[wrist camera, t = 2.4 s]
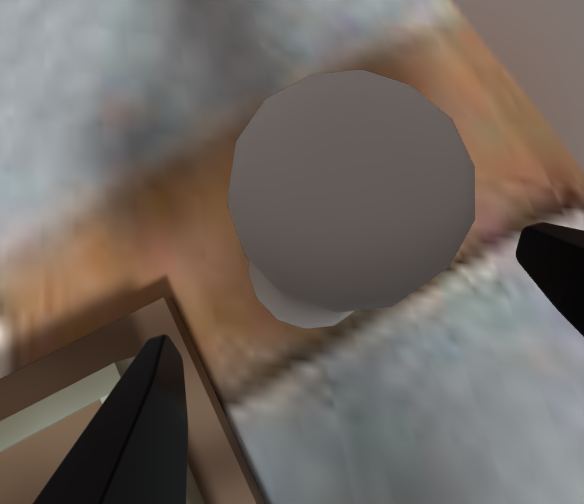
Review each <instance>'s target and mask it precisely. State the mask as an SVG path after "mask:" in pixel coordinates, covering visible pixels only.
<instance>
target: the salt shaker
mask: <svg viewBox="0 0 584 504" xmlns="http://www.w3.org/2000/svg"><path fill="white" fill-rule="evenodd" d="M228 208H229V211H230V214H231V217H232V220H233V223H234V225H235V228H236V231H237V234H238V237H239V240H240V242H241V245H242V248H243V251H244V254H245V256H246V257H247V258H248V259H249V267H248V274H249V277H250V280H251V283H252V286H253V288H254V291H255V294H256V297H257V299H258V300H259V301H260V302H261V303H262V304H263V305H264V306H265V307H266V308H267V310H268V311H269V312H270V313H271V314H272V315H273V316H274V317H275V318H276V319H277V320H280V321H283V322H286V323H289V324H292V325H295V326H298V327H301V328H304V329H308V328H317V327H326V326H334V325H336V324H337V323H338V322H340V321H341V320H343V319H344V318H346V317H347V316H349V315H350V314H351V313H353V312H354V311H357V310H366V309H375V308H384V307H392V306H394V305H395V304H397V303H398V302H399V301H401V300H402V299H404V298H405V297H407V296H408V295H410V294H411V293H412V292H414V291H415V290H417V289H418V288H420V287H421V286H423V285H424V284H425V283H427V282H428V281H430V280H431V279H433V278H434V277H435V276H437V275H438V274H440V273H441V272H442V271H444V270H445V269H447V268H448V267H449V266H450V264H451V262H452V261H453V259H454V257H455V255H456V253H457V251H458V250H459V248H460V246H461V244H462V242H463V241H464V239H465V237H466V235H467V233H468V231H469V230H470V228H471V226H472V224H473V222H474V220H475V166H474V164H473V162H472V160H471V158H470V156H469V154H468V151H467V149H466V147H465V145H464V143H463V141H462V139H461V136H460V134H459V132H458V130H457V128H456V126H455V124H454V122H453V119H452V118H450V117H449V116H448V115H447V114H446V113H444V112H443V111H442V110H441V109H439V108H438V107H437V106H436V105H435V104H433V103H432V102H431V101H430V100H429V99H427V98H426V97H425V96H424V95H422V94H421V93H420V92H419V91H418V90H416V89H415V88H414V87H413V86H412V85H408V84H405V83H402V82H399V81H396V80H393V79H390V78H387V77H384V76H381V75H377V74H374V73H371V72H368V71H365V70H362V69H361V70H351V71H342V72H332V73H323V74H314V75H309V76H307V77H305V78H303V79H302V80H300V81H298V82H296V83H294V84H292V85H291V86H289V87H287V88H285V89H283V90H281V91H280V92H278V93H276V94H274V95H272V96H270V97H269V98H267V99H265V100H264V102H263V103H262V105H261V106H260V108H259V109H258V110H257V112H256V113H255V115H254V116H253V118H252V119H251V121H250V122H249V124H248V125H247V126H246V128H245V129H244V131H243V132H242V134H241V135H240V137H239V138H238V139H237V141H236V145H235V152H234V158H233V164H232V171H231V177H230V183H229V190H228Z"/></svg>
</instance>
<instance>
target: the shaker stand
mask: <svg viewBox="0 0 584 504" xmlns="http://www.w3.org/2000/svg"><path fill="white" fill-rule="evenodd" d="M162 334H166V335H168V336H169V337H170V338H171V340H172V342H173V343H174V345H175V346H176V348H177V349H178V351H179V353H180V354H181V356H182V359H183V365H184V377H185V389H186V402H187V414H188V460H187V490H186V504H265V502H264V500H263V498H262V496H261V494H260V491H259V489H258V487H257V485H256V482H255V480H254V478H253V476H252V474H251V471H250V469H249V467H248V465H247V463H246V460H245V458H244V456H243V454H242V452H241V449H240V447H239V445H238V443H237V441H236V438H235V436H234V434H233V432H232V430H231V427H230V425H229V423H228V421H227V419H226V416H225V414H224V412H223V410H222V408H221V405H220V403H219V401H218V399H217V396H216V394H215V392H214V390H213V388H212V385H211V383H210V381H209V379H208V377H207V374H206V372H205V370H204V368H203V366H202V363H201V361H200V359H199V357H198V355H197V352H196V350H195V348H194V346H193V344H192V341H191V339H190V337H189V335H188V333H187V330H186V328H185V326H184V324H183V321H182V319H181V317H180V315H179V313H178V310H177V308H176V306H175V304H174V302H173V299H172V298H166V297H163V298H161V299H159V300H157V301H155V302H153V303H151V304H149V305H147V306H145V307H143V308H141V309H139V310H137V311H135V312H133V313H131V314H129V315H127V316H125V317H123V318H121V319H119V320H117V321H115V322H113V323H111V324H109V325H107V326H105V327H103V328H101V329H99V330H97V331H95V332H93V333H91V334H89V335H87V336H85V337H83V338H81V339H79V340H77V341H75V342H73V343H71V344H69V345H67V346H65V347H63V348H61V349H59V350H57V351H55V352H53V353H51V354H49V355H47V356H45V357H43V358H41V359H39V360H37V361H35V362H33V363H31V364H29V365H27V366H25V367H23V368H21V369H19V370H17V371H15V372H13V373H11V374H9V375H7V376H5V377H3V378H1V379H0V504H32V503H33V502H34V501H35V499H36V498H37V496H38V495H39V493H40V492H41V491H42V489H43V488H44V486H45V485H46V483H47V482H48V481H49V479H50V478H51V476H52V475H53V473H54V472H55V471H56V469H57V468H58V466H59V465H60V463H61V462H62V461H63V459H64V458H65V456H66V455H67V454H68V452H69V451H70V449H71V448H72V446H73V445H74V444H75V442H76V441H77V439H78V438H79V436H80V435H81V434H82V432H83V431H84V429H85V428H86V426H87V425H88V424H89V422H90V421H91V419H92V418H93V416H94V415H95V414H96V412H97V411H98V409H99V408H100V406H101V405H102V404H103V402H104V401H105V399H106V398H107V397H108V395H109V394H110V392H111V391H112V389H113V388H114V387H115V385H116V384H117V382H118V381H119V379H120V378H121V377H122V375H123V374H124V372H125V371H126V369H127V368H128V367H129V365H130V364H131V362H132V361H133V359H134V358H135V357H136V355H137V354H138V352H139V351H140V350H141V348H142V347H143V345H144V344H145V342H146V341H147V340H148V339H150V338H152V337H155V336H159V335H162Z"/></svg>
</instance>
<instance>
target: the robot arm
mask: <svg viewBox="0 0 584 504" xmlns="http://www.w3.org/2000/svg"><path fill="white" fill-rule="evenodd" d="M516 258H517V260H518V262H519V263H520V265H521V266H522V267H523V268H524V270H525V271H526V272H527V273H528V274H529V276H530V277H531V278H532V279H533V281H534V282H535V283H536V284H537V286H538V287H539V288H540V289H541V290H542V292H543V293H544V294H545V295H546V297H547V298H548V299H549V300H550V302H551V303H552V304H553V305H554V306H555V307H556V309H557V310H558V311H559V312H560V313H561V314H562V315H563V316H564V317H565V318H566V319H567V320H568V321H569V322H570V323H571V324H572V325H573V326H574V327H575V328H576V329H577V330H578V331H579V332H580V333H581V334H582V335H583V336H584V231H583V230H578V229H573V228H568V227H564V226H559V225H554V224H549V223H544V222H540V223H535V224H532V225H529V226H526V227H524V228H523V230H522V231H521V235H520V238H519V242H518V246H517V249H516ZM187 460H188V414H187V402H186V389H185V377H184V365H183V359H182V356H181V354H180V353H179V351H178V349H177V348H176V346H175V345H174V343H173V342H172V340H171V338H170V337H169V336H168V335H166V334H162V335H159V336H155V337H152V338H150V339H148V340H147V341H146V342H145V344H144V345H143V347H142V348H141V350H140V351H139V352H138V354H137V355H136V357H135V358H134V359H133V361H132V362H131V364H130V365H129V367H128V368H127V369H126V371H125V372H124V374H123V375H122V377H121V378H120V379H119V381H118V382H117V384H116V385H115V387H114V388H113V389H112V391H111V392H110V394H109V395H108V397H107V398H106V399H105V401H104V402H103V404H102V405H101V406H100V408H99V409H98V411H97V412H96V414H95V415H94V416H93V418H92V419H91V421H90V422H89V424H88V425H87V426H86V428H85V429H84V431H83V432H82V434H81V435H80V436H79V438H78V439H77V441H76V442H75V444H74V445H73V446H72V448H71V449H70V451H69V452H68V454H67V455H66V456H65V458H64V459H63V461H62V462H61V463H60V465H59V466H58V468H57V469H56V471H55V472H54V473H53V475H52V476H51V478H50V479H49V481H48V482H47V483H46V485H45V486H44V488H43V489H42V491H41V492H40V493H39V495H38V496H37V498H36V499H35V501H34V502H33V503H32V504H186V490H187Z"/></svg>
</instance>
